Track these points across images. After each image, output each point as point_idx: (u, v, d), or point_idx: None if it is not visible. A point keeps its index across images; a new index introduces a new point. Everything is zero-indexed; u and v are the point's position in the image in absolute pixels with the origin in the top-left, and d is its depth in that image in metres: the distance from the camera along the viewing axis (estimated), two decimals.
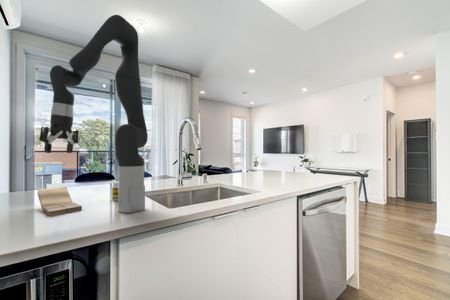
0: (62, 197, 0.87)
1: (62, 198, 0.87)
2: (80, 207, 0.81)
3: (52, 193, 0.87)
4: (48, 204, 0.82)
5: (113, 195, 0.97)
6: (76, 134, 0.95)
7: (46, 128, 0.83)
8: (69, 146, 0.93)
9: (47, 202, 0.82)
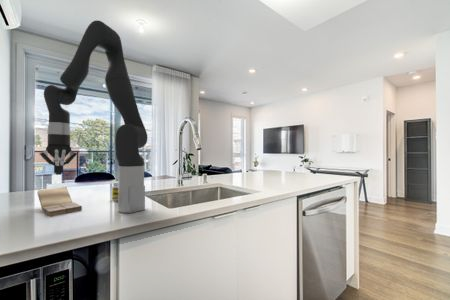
0: (62, 197, 0.87)
1: (62, 198, 0.87)
2: (80, 207, 0.81)
3: (52, 193, 0.87)
4: (48, 204, 0.82)
5: (113, 195, 0.97)
6: (72, 155, 0.92)
7: (41, 154, 0.84)
8: None
9: (47, 202, 0.82)
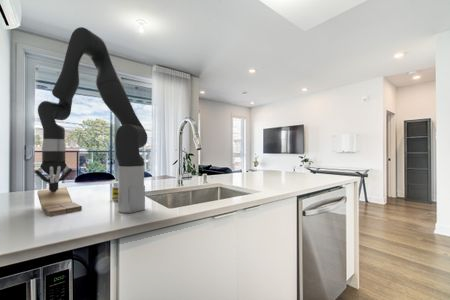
0: (62, 197, 0.87)
1: (62, 198, 0.87)
2: (80, 207, 0.81)
3: (52, 193, 0.87)
4: (48, 204, 0.82)
5: (113, 195, 0.97)
6: (67, 172, 0.90)
7: (36, 172, 0.82)
8: None
9: (47, 202, 0.82)
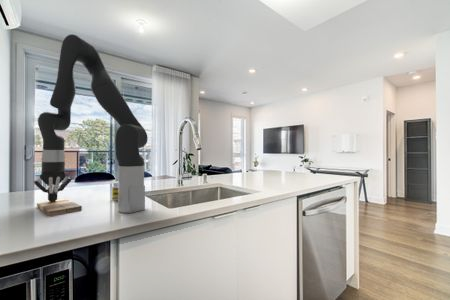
0: (62, 201, 0.88)
1: (62, 202, 0.87)
2: (80, 207, 0.81)
3: None
4: (48, 205, 0.82)
5: (113, 195, 0.97)
6: (66, 182, 0.91)
7: (35, 183, 0.83)
8: None
9: (47, 205, 0.82)
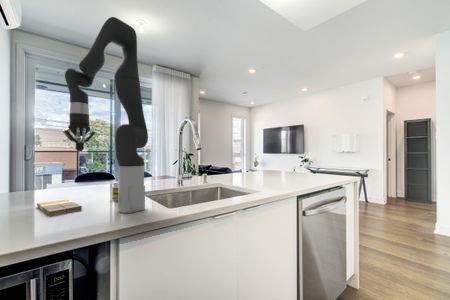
0: (62, 201, 0.88)
1: (62, 202, 0.87)
2: (80, 207, 0.81)
3: (51, 201, 0.87)
4: (48, 205, 0.82)
5: (113, 195, 0.97)
6: (91, 134, 0.99)
7: (65, 131, 0.91)
8: None
9: (47, 205, 0.82)
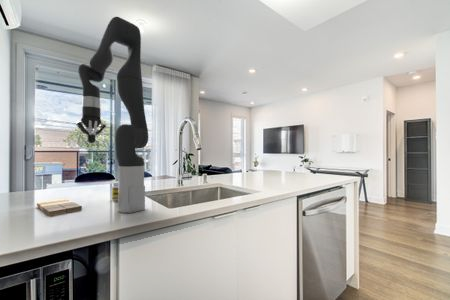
0: (62, 201, 0.88)
1: (62, 202, 0.87)
2: (80, 207, 0.81)
3: (51, 201, 0.87)
4: (48, 205, 0.82)
5: (113, 195, 0.97)
6: (102, 127, 1.04)
7: (78, 123, 0.96)
8: None
9: (47, 205, 0.82)
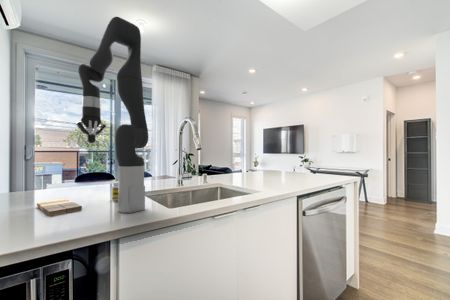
0: (62, 201, 0.88)
1: (62, 202, 0.87)
2: (80, 207, 0.81)
3: (51, 201, 0.87)
4: (48, 205, 0.82)
5: (113, 195, 0.97)
6: (102, 127, 1.04)
7: (78, 123, 0.96)
8: None
9: (47, 205, 0.82)
